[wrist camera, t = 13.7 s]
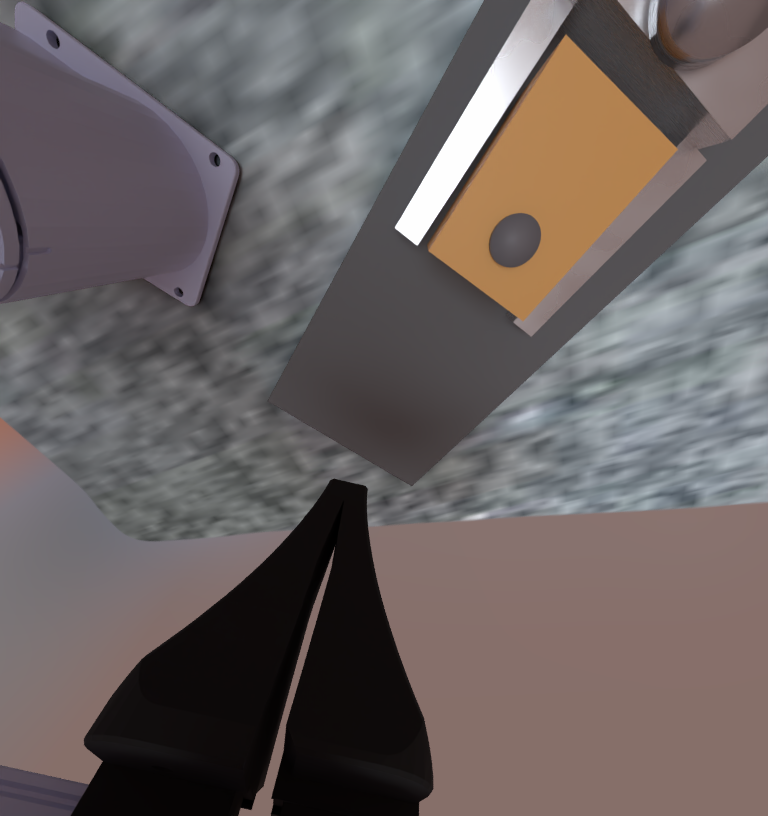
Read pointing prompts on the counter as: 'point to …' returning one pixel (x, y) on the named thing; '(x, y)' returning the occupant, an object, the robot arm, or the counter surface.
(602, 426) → the counter surface
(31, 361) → the counter surface
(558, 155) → the block
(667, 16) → the sliding latch
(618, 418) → the counter surface
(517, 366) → the mat
